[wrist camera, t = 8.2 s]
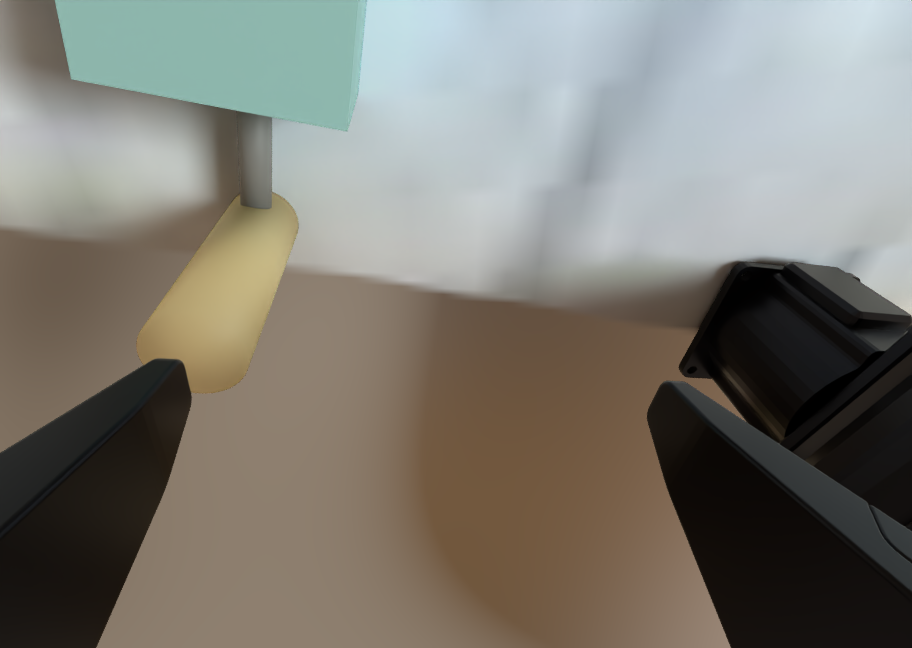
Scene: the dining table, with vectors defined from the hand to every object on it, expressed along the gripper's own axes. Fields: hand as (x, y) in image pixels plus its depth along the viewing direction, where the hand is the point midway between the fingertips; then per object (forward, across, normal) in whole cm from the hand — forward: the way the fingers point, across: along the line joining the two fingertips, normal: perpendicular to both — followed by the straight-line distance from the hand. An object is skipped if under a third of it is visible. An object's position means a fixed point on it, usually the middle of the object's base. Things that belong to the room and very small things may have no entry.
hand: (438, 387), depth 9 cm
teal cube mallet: (+11, +5, -3) cm, 13 cm away
